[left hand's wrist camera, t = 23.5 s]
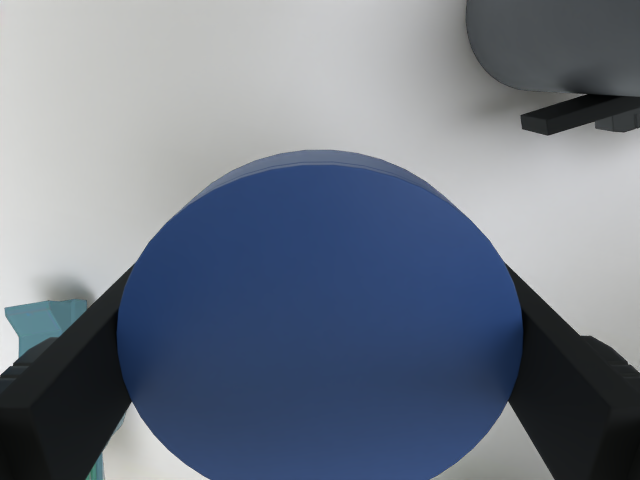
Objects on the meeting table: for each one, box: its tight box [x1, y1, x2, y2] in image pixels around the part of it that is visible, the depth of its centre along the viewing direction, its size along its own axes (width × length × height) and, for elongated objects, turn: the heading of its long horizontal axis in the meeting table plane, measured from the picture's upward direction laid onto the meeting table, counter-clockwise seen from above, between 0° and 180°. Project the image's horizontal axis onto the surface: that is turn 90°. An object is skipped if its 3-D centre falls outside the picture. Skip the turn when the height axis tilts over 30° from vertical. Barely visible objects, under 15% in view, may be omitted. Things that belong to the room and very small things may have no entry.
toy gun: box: [5, 299, 126, 480], centre depth 30 cm, size 4×19×10 cm
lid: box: [116, 150, 523, 480], centre depth 11 cm, size 10×10×2 cm
